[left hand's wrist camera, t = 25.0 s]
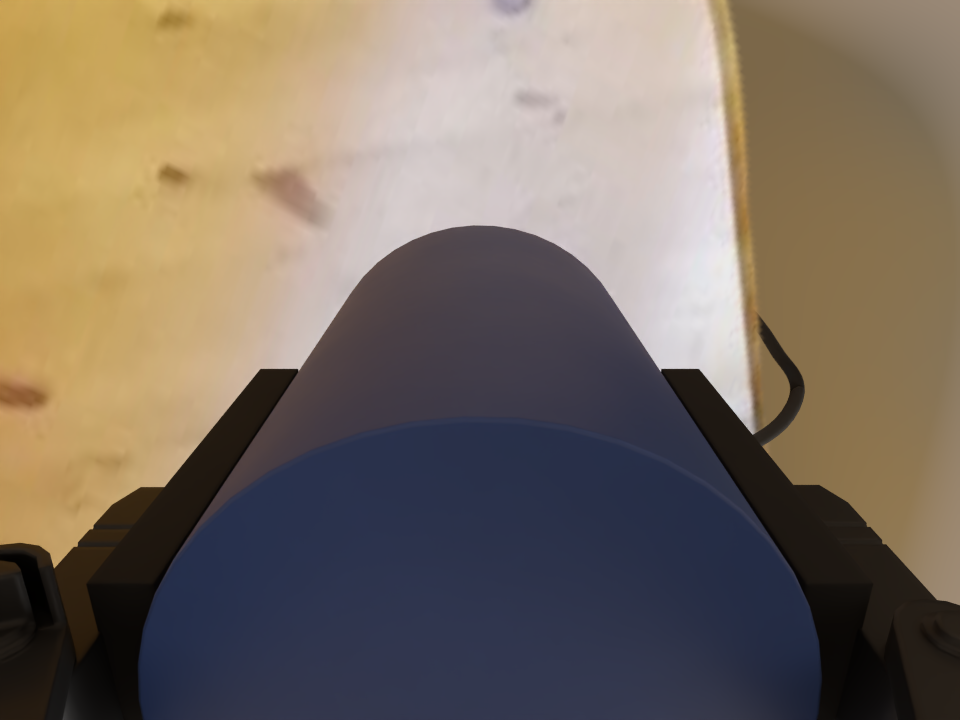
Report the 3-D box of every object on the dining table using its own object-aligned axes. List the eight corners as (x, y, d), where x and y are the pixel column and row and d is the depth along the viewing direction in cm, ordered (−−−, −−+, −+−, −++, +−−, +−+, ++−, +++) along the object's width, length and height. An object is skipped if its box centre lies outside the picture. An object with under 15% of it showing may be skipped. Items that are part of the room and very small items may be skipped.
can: (312, 231, 15) (56, 432, 6) (635, 218, 15) (878, 402, 6) (347, 508, 18) (205, 945, 9) (624, 498, 18) (780, 930, 9)
